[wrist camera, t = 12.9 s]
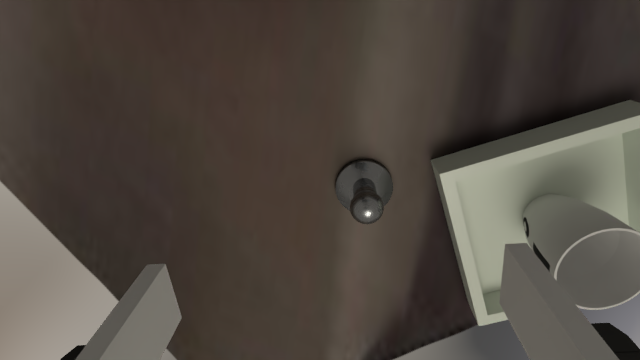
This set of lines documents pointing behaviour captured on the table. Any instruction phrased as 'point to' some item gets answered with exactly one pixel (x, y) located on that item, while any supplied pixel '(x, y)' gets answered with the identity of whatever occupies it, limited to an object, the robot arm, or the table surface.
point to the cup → (584, 250)
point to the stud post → (364, 189)
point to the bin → (534, 189)
